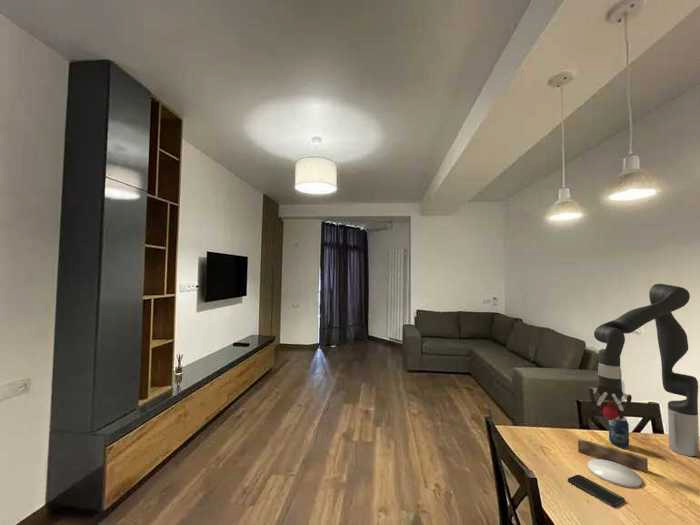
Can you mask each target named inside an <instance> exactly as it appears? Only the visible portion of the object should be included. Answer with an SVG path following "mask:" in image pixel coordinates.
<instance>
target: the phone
mask: <svg viewBox="0 0 700 525" xmlns="http://www.w3.org/2000/svg"><path fill="white" fill-rule="evenodd" d="M568 482H569V483H568ZM567 483H568V484H570V483H571V484H570V485H572V486H573V485H574V486H573V487H575V486H576V487H575V488H576V489H579V490H580V489H581V490H580V491H582V492H584V493H586V494H587V495H589V494H590V495H589V496H591V497H593V496H594V497H593V498H594V499H596V498H597V499H596V500H598V499H599V501H600V502H602V503H604V504H605V505H607V506H609V507H611V508H618V507H619V506H621V505H623V504H625V503H626V499H625V497H623V496H622V495H619V494H618V493H615V492H613V491H612V490H610V489H608V488H606V487H604V486H603V485H600V484H598V483H597V482H594V481H592V480H591V479H590V478H589V479H588V478H587V477H585V476H583V475H581V474H575V475H573V476H571V477H568V478H567Z"/></svg>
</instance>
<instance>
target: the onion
mask: <svg viewBox="0 0 700 525" xmlns="http://www.w3.org/2000/svg"><path fill="white" fill-rule="evenodd" d="M601 415H603V416H604V418H606V419H607V420H608V421H609V420H610V421H611V420H614V419H616V418H617V417H618V416H619V408H618V406H616V405H615V404H614V403H612V401H610V400H607V402H606V403H602V404H601Z"/></svg>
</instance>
